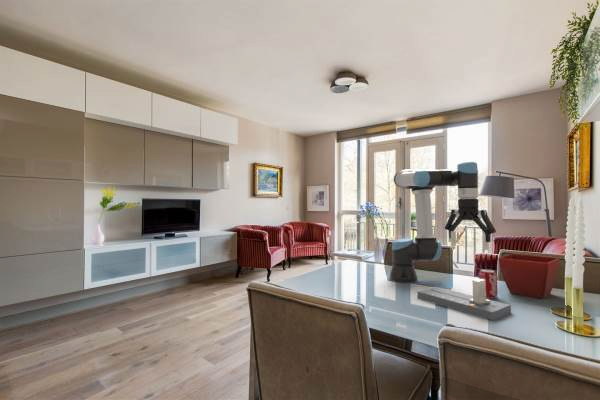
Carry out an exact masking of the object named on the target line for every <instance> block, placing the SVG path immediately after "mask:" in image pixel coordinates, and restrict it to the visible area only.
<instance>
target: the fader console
mask: <svg viewBox="0 0 600 400" xmlns="http://www.w3.org/2000/svg"><path fill="white" fill-rule="evenodd" d="M417 298H418V299H420V300H423V301H426V302H430V303H432V304H433V303H434V304H437V305H440V306H442V307H446V308H447V307H448V308H449V309H453V310H457V311H460V312H464V313H467V314H469V315H470V314H471V315H472V316H476V317H479V318H484V319H485V320H486V319H487V320H489V321H495V320H497V319H500V318H501V317H504V316H507V315H509V314H511V313H512V306H511V305H512V304H507V303H503V302H501V301H496V300H492V299H490V298H486V299H487V300H490V303H488V304H485V305H483V306H482V305H478V304H474V303H470V302H469V300H470V299H473V294H472V295H471V294H467V293H463V292H460V291H455V290H451V289H448V288H443V287H439V286H433V287H429V288H425V289H420V290H418V291H417Z"/></svg>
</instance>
